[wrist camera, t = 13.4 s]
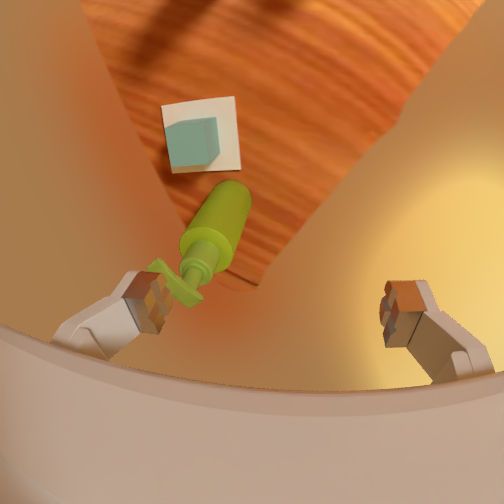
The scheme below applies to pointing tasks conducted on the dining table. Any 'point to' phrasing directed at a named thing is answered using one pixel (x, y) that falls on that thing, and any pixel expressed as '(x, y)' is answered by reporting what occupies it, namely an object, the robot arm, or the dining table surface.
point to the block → (193, 142)
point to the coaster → (225, 123)
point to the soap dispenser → (208, 242)
